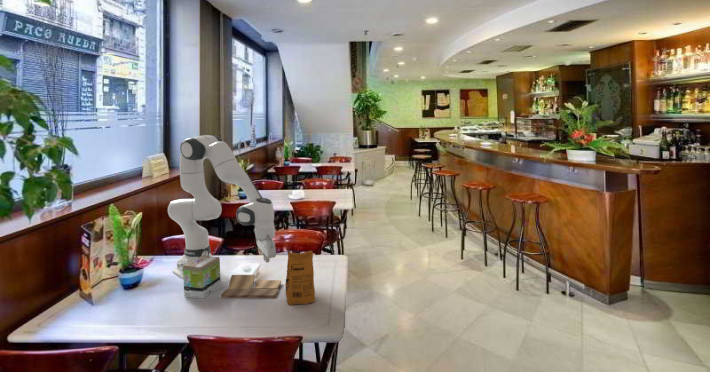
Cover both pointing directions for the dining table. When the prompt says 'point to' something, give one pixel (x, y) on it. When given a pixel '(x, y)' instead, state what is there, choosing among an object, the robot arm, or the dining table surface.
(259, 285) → the plank
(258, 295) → the floor strip
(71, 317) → the dining table surface
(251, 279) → the plank
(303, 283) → the coffee package
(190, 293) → the tea box
